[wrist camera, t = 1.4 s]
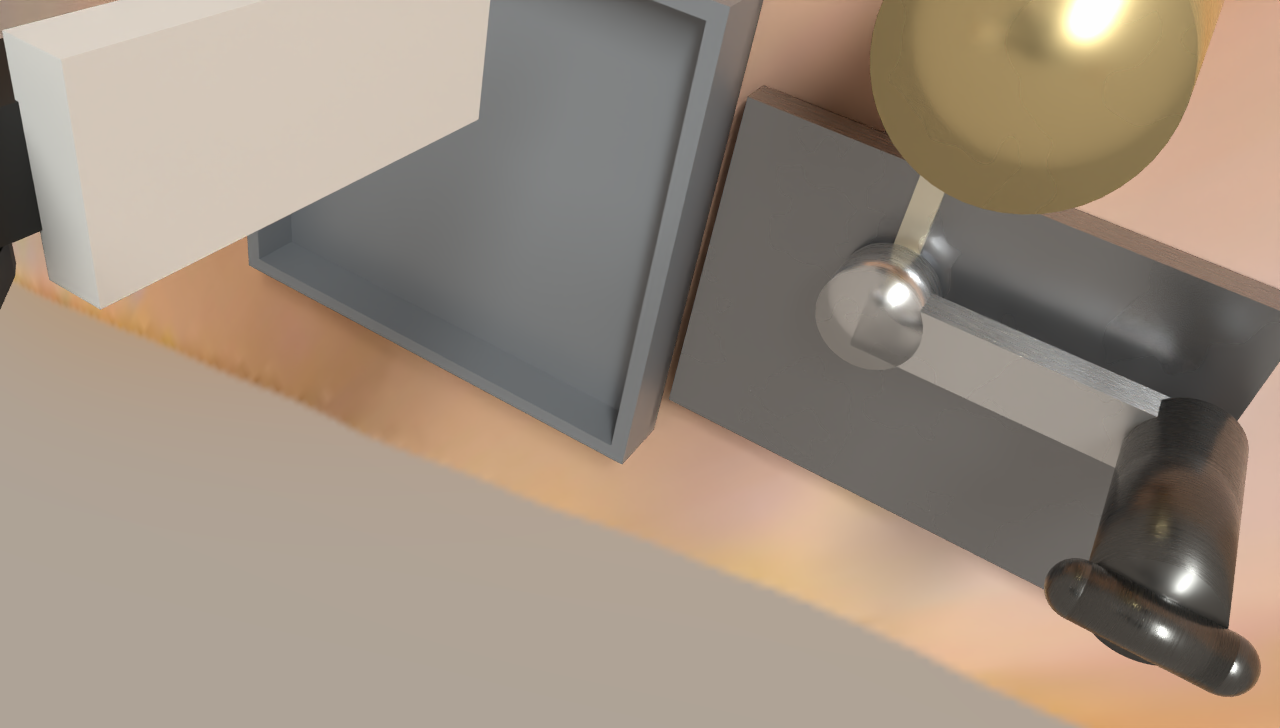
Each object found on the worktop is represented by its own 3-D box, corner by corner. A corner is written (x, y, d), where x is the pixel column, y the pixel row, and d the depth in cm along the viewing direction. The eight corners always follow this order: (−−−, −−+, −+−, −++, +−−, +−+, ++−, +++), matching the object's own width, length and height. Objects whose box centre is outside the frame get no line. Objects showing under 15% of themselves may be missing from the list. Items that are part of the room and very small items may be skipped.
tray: (279, -192, 36) (222, -185, 34) (766, -13, 31) (730, 6, 29) (291, 242, 47) (248, 265, 45) (653, 429, 42) (622, 464, 40)
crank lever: (826, 312, 33) (696, 473, 27) (857, 225, 32) (725, 376, 25) (1243, 502, 30) (1214, 744, 23) (1307, 418, 28) (1297, 656, 21)
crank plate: (763, 85, 32) (744, 98, 31) (1308, 301, 28) (1307, 325, 27) (683, 383, 40) (666, 402, 39) (1104, 592, 35) (1096, 620, 34)
